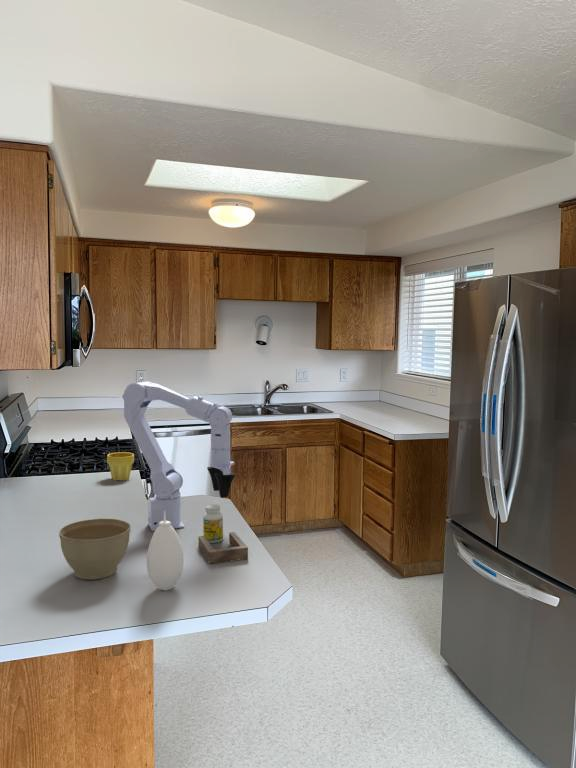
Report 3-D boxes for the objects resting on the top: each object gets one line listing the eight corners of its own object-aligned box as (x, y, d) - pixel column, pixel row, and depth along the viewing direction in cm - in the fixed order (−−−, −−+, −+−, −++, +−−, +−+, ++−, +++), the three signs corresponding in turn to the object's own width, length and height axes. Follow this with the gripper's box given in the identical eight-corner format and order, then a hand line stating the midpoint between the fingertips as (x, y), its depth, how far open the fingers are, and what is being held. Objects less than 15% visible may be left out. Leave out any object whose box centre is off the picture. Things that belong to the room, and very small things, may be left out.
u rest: (209, 564, 145) (209, 552, 144) (198, 547, 156) (198, 536, 156) (247, 558, 148) (247, 547, 148) (234, 542, 160) (234, 531, 160)
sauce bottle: (166, 599, 125) (165, 517, 124) (140, 591, 129) (138, 511, 128) (190, 586, 132) (189, 508, 130) (165, 578, 136) (164, 503, 134)
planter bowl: (132, 582, 134) (131, 536, 133) (57, 590, 129) (55, 542, 128) (130, 556, 149) (129, 515, 148) (63, 563, 145) (62, 520, 144)
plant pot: (140, 477, 232) (139, 453, 232) (119, 483, 224) (119, 458, 223) (122, 474, 238) (121, 450, 237) (101, 479, 229) (101, 455, 228)
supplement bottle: (226, 538, 164) (225, 504, 163) (218, 544, 158) (217, 510, 158) (208, 536, 165) (208, 502, 164) (200, 542, 160) (199, 508, 159)
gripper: (240, 451, 165) (240, 498, 166) (227, 442, 178) (227, 486, 179) (216, 453, 162) (216, 501, 163) (204, 444, 176) (204, 488, 177)
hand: (220, 493), depth 171 cm, fingers open, 7 cm apart
